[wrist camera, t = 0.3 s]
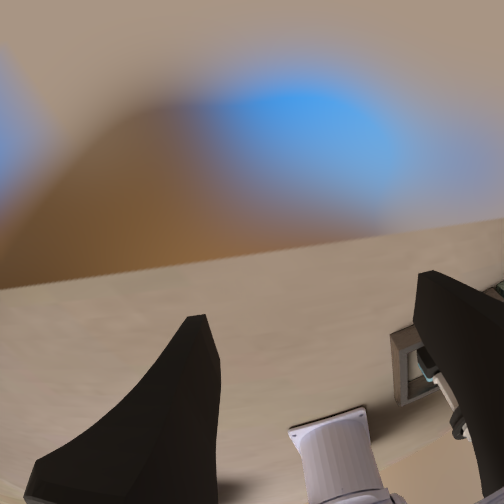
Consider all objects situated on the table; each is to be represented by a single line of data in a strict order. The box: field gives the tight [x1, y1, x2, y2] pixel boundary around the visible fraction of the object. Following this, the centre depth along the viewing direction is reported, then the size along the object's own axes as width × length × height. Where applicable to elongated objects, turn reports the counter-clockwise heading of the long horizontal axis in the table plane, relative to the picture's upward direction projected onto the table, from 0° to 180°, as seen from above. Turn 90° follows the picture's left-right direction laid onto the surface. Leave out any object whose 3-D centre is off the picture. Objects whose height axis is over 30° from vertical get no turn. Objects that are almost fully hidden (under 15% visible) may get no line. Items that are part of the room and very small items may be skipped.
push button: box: [417, 346, 472, 442], centre depth 21 cm, size 7×5×10 cm
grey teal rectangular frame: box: [390, 281, 504, 407], centre depth 24 cm, size 9×22×2 cm, turn 110°
